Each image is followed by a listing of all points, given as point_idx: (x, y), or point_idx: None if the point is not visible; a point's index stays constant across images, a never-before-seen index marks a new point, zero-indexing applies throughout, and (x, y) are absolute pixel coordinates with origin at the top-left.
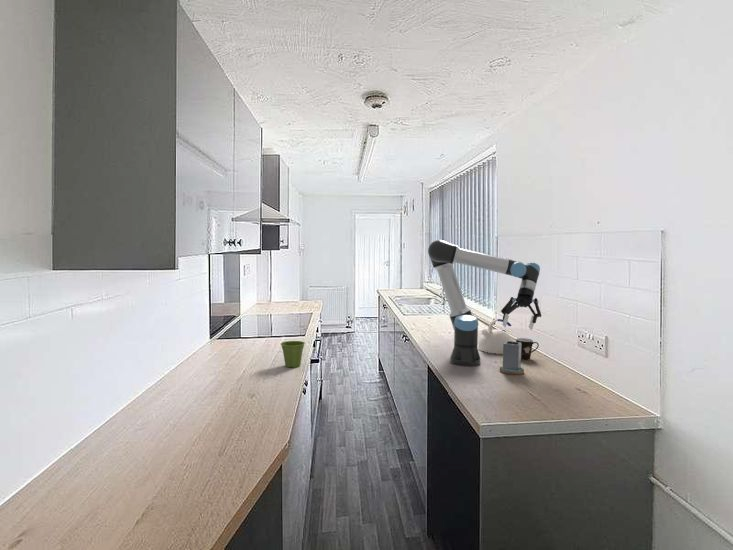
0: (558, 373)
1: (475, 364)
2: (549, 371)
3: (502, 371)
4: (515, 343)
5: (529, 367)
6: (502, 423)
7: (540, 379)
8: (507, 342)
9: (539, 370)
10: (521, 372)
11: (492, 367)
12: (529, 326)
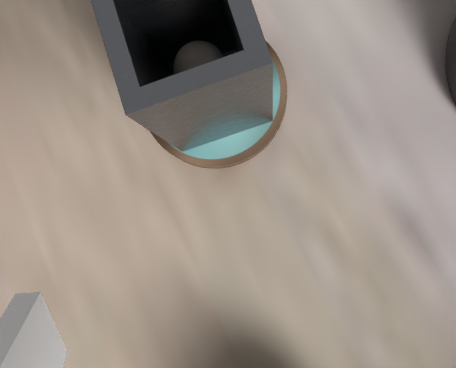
0: (14, 279)
1: (450, 35)
2: (66, 281)
3: None
4: (175, 79)
5: (188, 276)
6: None
7: (35, 84)
8: (232, 16)
9: (115, 256)
10: None
11: (348, 92)
12: (27, 304)
